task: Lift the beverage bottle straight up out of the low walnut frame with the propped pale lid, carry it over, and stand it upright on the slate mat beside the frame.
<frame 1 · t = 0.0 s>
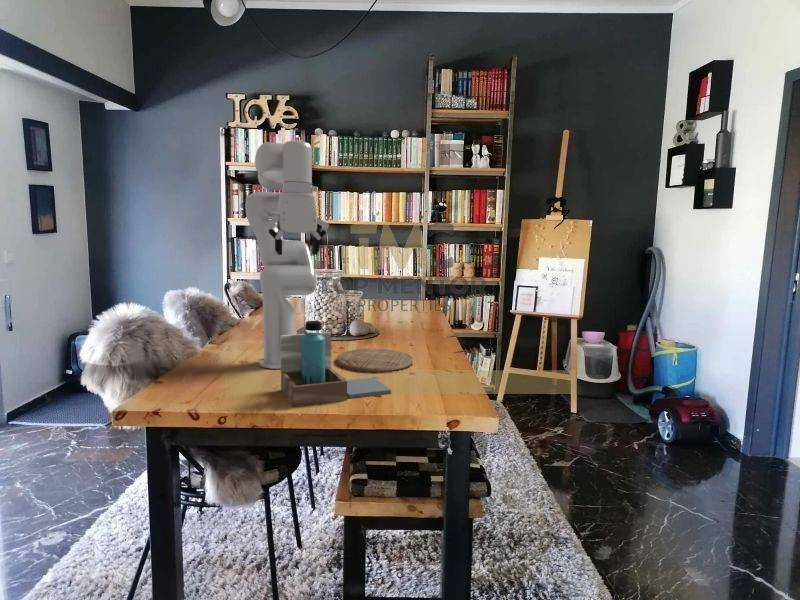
hand: (297, 254, 142), 37 cm above the table, tool pointing down, fingers open, 9 cm apart
beverage bottle: (313, 395, 140), resting in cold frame
slate mat: (362, 389, 146), on the table
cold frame: (313, 394, 140), on the table
trivet: (375, 363, 174), on the table
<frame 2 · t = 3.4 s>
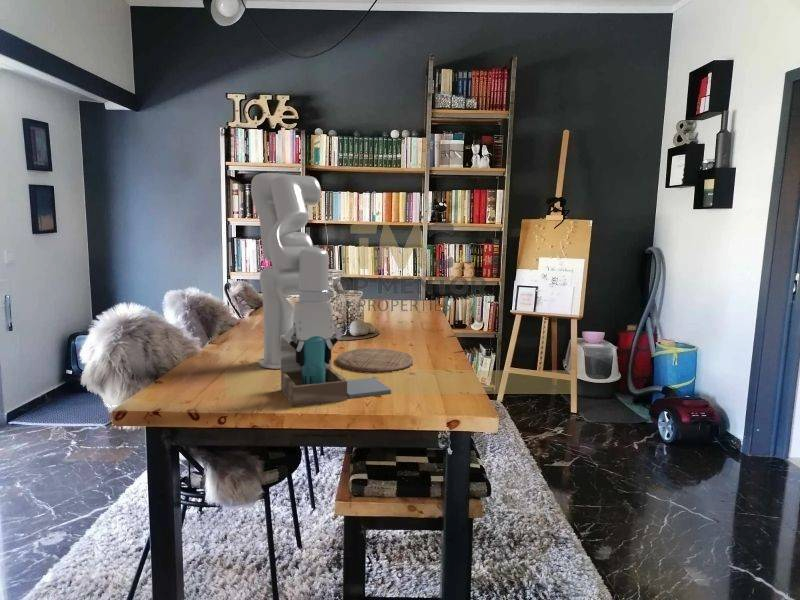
hand: (313, 363, 138), 9 cm above the table, tool pointing down, fingers closed on beverage bottle, 6 cm apart
beverage bottle: (313, 395, 140), resting in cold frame, touching gripper
everything else where it was.
when the fingers open (11 cm above the table, at t = 11.5 s): beverage bottle drops 1 cm, resting on slate mat.
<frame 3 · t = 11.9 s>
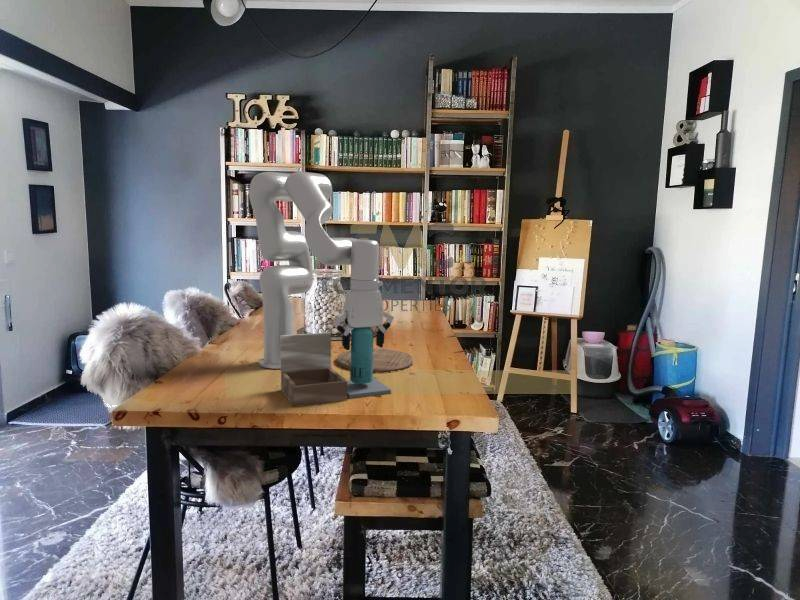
hand: (363, 347, 144), 12 cm above the table, tool pointing down, fingers open, 9 cm apart
beverage bottle: (361, 386, 145), point 1 cm above the table, touching slate mat
everything else where it was.
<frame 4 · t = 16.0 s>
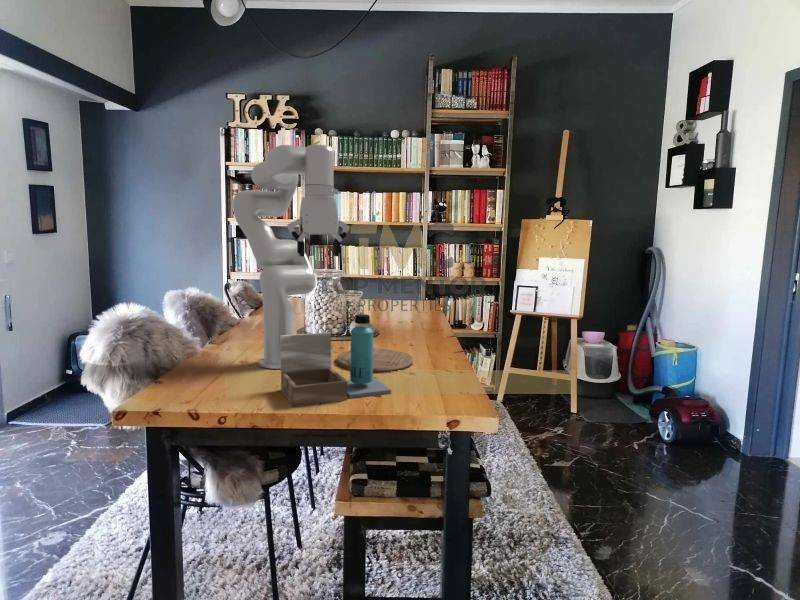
hand: (319, 256, 144), 36 cm above the table, tool pointing down, fingers open, 9 cm apart
nothing on the table moved.
at the end: beverage bottle inside the target area on the slate mat (0.4 cm from its centre), point 0.8 cm above the slate mat's base; beverage bottle tilted 0°; the gripper is holding nothing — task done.
